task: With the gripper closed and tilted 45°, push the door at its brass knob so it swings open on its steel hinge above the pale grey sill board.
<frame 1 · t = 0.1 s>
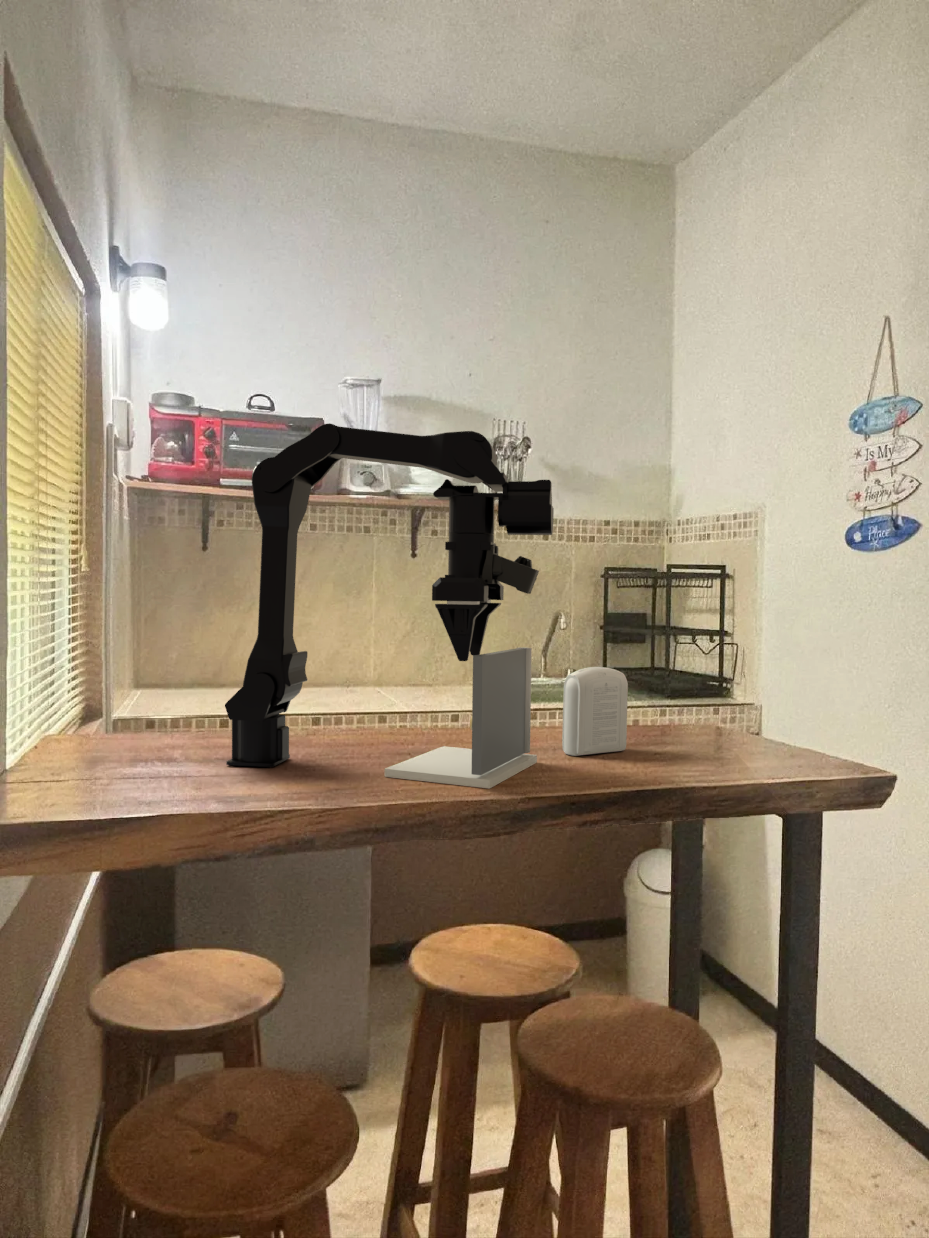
hand: (469, 658, 108), 15 cm above the counter, tool pointing down, fingers open, 9 cm apart
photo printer: (594, 753, 123), on the counter
sill board: (464, 769, 111), on the counter
door: (498, 706, 108), point 8 cm above the counter, hinge at 0.0°
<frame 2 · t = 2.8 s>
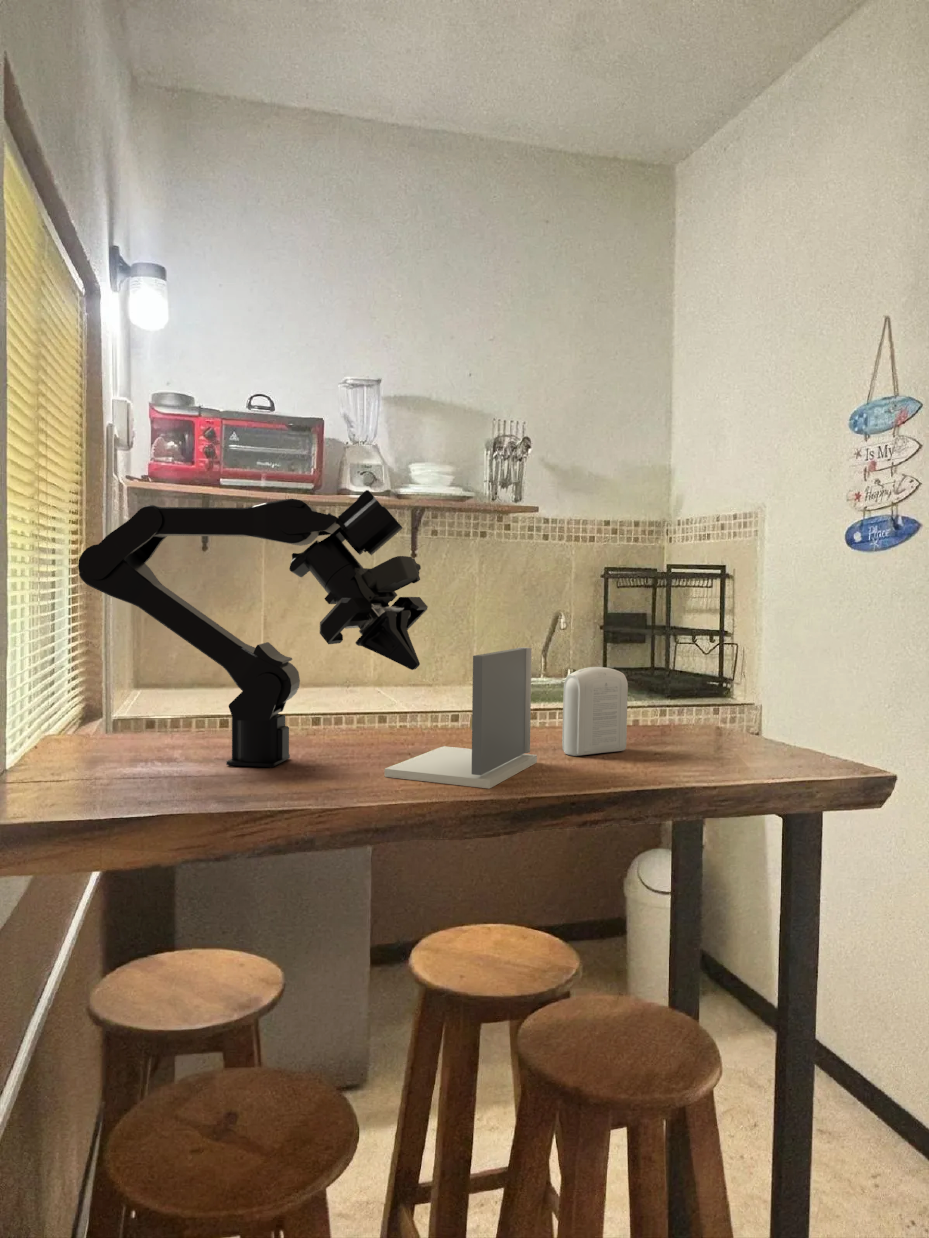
hand: (416, 667, 108), 13 cm above the counter, tool tilted 45°, fingers closed
nothing on the counter moved.
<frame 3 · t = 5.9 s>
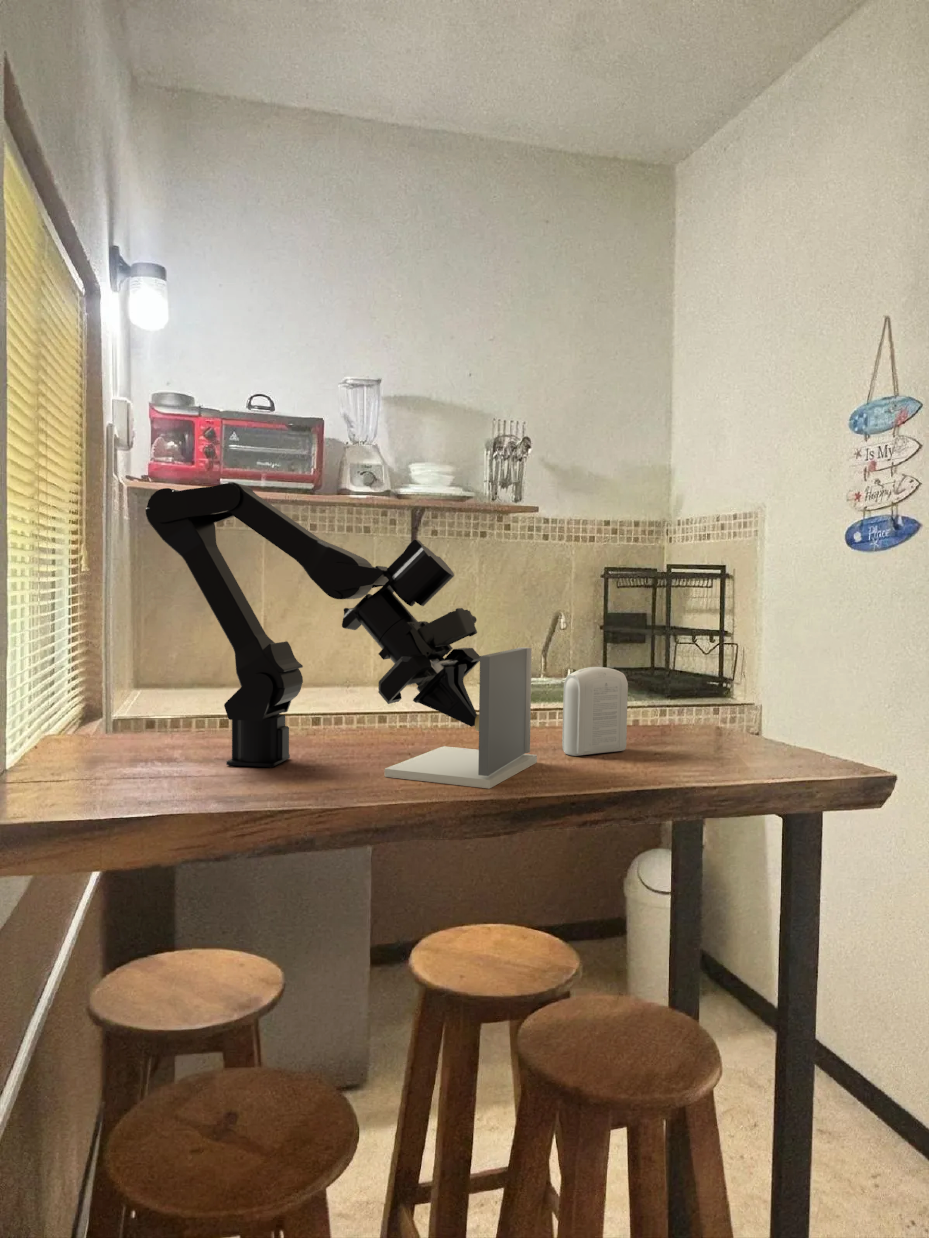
hand: (475, 723, 104), 7 cm above the counter, tool tilted 45°, fingers closed, pressing on door
door: (501, 706, 108), point 9 cm above the counter, hinge at 3.2°, touching gripper
everything else where it was.
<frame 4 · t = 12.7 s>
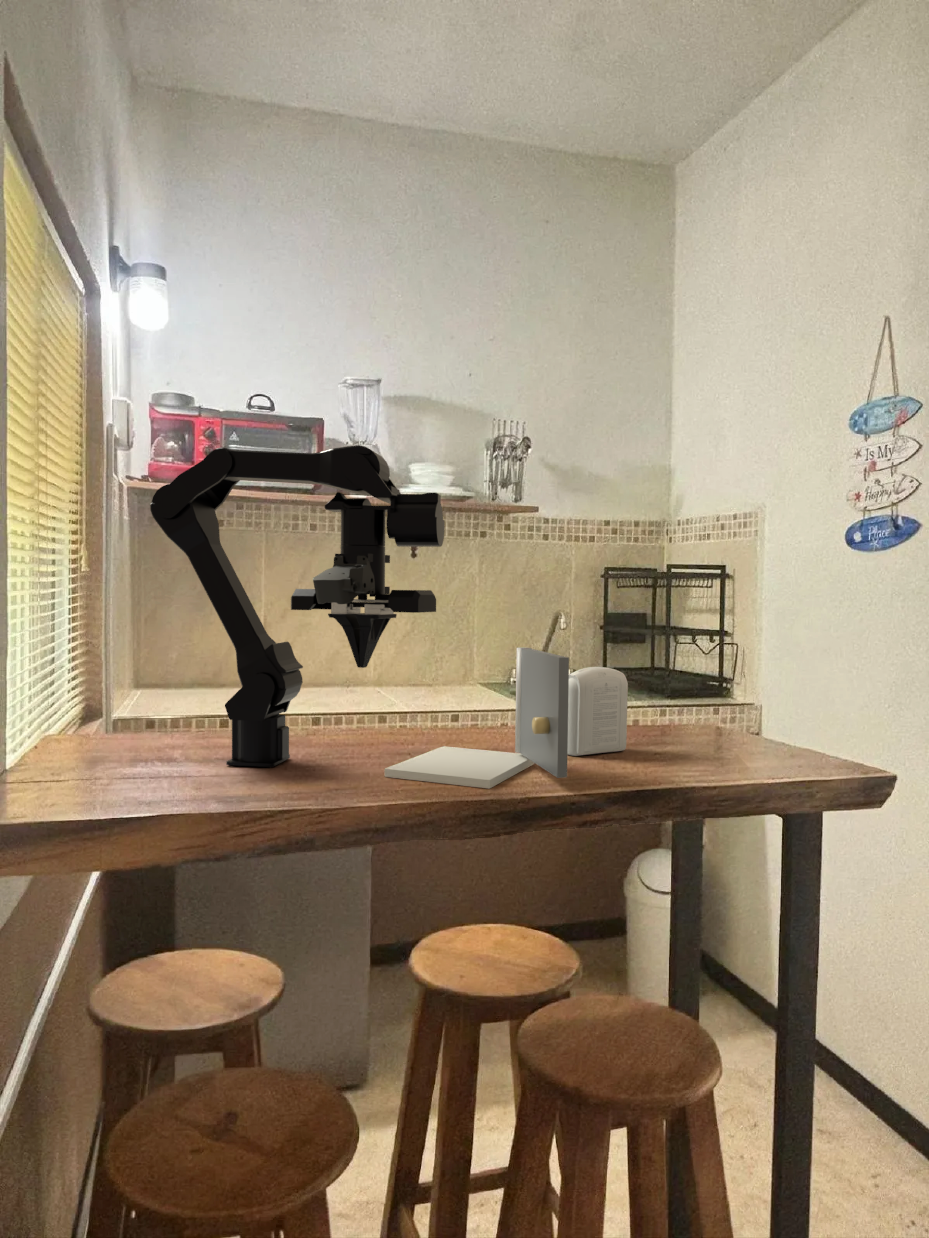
hand: (362, 667, 111), 13 cm above the counter, tool pointing down, fingers closed
door: (535, 707, 107), point 8 cm above the counter, hinge at 36.6°
everything else where it was.
at the end: door at +37° (first picture: +0°); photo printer moved 0.2 cm from its start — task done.
